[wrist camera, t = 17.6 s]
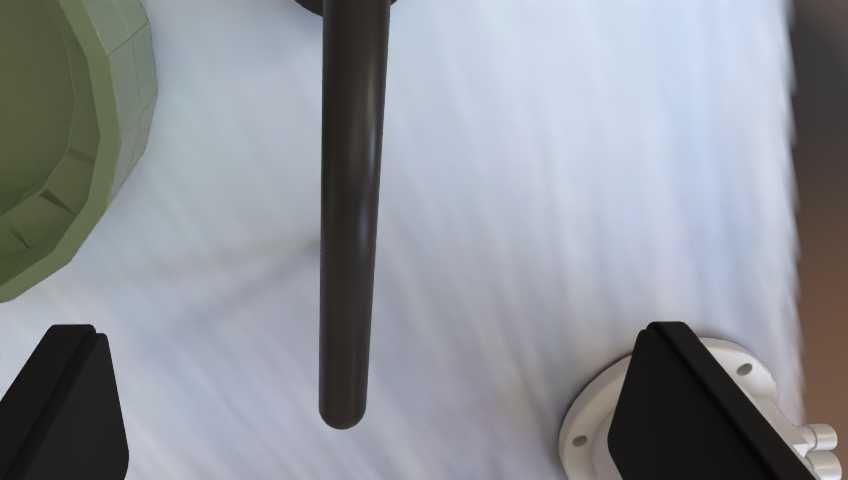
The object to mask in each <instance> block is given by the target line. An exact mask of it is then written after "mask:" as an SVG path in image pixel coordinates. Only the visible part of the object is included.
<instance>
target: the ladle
mask: <svg viewBox="0 0 848 480" xmlns="http://www.w3.org/2000/svg"><path fill="white" fill-rule="evenodd" d="M295 1H296V2H297V3H299V4H300V5H301V6H303V7H304V8H306V9H307V10H309V11H311V12H312V13H315V14H317V15H319V16H322V17H323V65H322V153H321V241H320V329H319V413H320V415H321V417H322V419H323V420H324V422H325V423H326V424H327V425H329V426H330V427H332V428H335V429H340V430H343V429H348V428H351V427H353V426H355V425H356V424H357V423H358V422H359V421H360V420H361V419H362V417H363V415H364V413H365V410H366V400H367V383H368V367H369V351H370V334H371V318H372V301H373V285H374V269H375V252H376V236H377V219H378V203H379V187H380V170H381V154H382V137H383V121H384V104H385V88H386V72H387V55H388V39H389V22H390V6H391V5H392V4H393V3H395V2H396V1H397V0H295Z"/></svg>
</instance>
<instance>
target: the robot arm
mask: <svg viewBox="0 0 848 480" xmlns="http://www.w3.org/2000/svg"><path fill="white" fill-rule="evenodd" d="M777 407H778V392H777V387H776V383H775V381H774V379H773V377H772V375H771V374H770V372H769V370H768V369H767V368H766V367H765V366H764V365H763V364H762V363H761V362H760V360H759V359H758V358H757V357H756V356H755V355H754V354H752V353H751V352H749V351H748V350H747V349H745V348H744V347H742V346H740V345H737V344H735V343H732V342H729V341H727V340H721V339H715V338H708V337H704V338H698V337H697V336H696V335H695V334H694V332H693V331H692V330H691V329H690V328H689V326H688V325H686V324H685V323H684V322H680V321H674V322H651V323H650V324H649V325H648V326H647V328H646V329H644V330H641V331H640V332H639V334H638V336H637V340H636V343H635V346H634V349H633V353H632V355H630V356H627V357H625V358H623V359H622V360H620V361H619V362H617V363H615V364H614V365H612V366H611V367H609V368H608V369H606V370H605V371H603V372H602V373H601V374H600V375H599V376H598V377H597V378H596V379H594V380H593V381H592V382H591V383H590V384H589V385H588V386H587V387H586V388H585V389H584V390H583V392H582V393H581V394H580V395H579V396H578V398H577V399H576V400H575V401H574V403H573V404H572V406H571V408H570V410H569V411H568V413H567V415H566V417H565V419H564V422H563V425H562V428H561V431H560V435H559V448H558V449H559V454H560V459H561V463H562V465H563V467H564V469H565V472H566V474H567V477H568V479H569V480H840V479H841V474H842V470H841V467H840V463H839V461H838V459H837V458H836V456H835V455H834V454H833V453H831V452H830V451H829V449H833V448H834V447H836V445H837V435H836V433H835V431H834V429H833V428H832V427H831V426H829V425H828V424H812V425H802V426H795V425H794V424H792V423H791V422H790V421H789V420H788V419H787V418H786V417H785V416H784V414H783V413H782V412H781V411H780V410H779V409H778V408H777ZM827 449H828V450H827ZM128 462H129V450H128V444H127V439H126V434H125V428H124V423H123V418H122V412H121V407H120V401H119V396H118V391H117V385H116V380H115V375H114V369H113V364H112V359H111V353H110V348H109V342H108V338H107V336H106V334H104V333H96V330H95V328H94V326H93V325H90V324H72V325H52V326H51V327H50V328H49V329H48V330H47V332H46V333H45V335H44V336H43V338H42V339H41V341H40V342H39V344H38V345H37V347H36V348H35V350H34V351H33V353H32V354H31V356H30V357H29V359H28V360H27V362H26V363H25V365H24V366H23V368H22V369H21V371H20V373H19V374H18V376H17V377H16V379H15V380H14V382H13V383H12V385H11V386H10V388H9V389H8V391H7V392H6V394H5V395H4V397H3V398H2V400H1V401H0V480H124V479H125V476H126V473H127V469H128Z"/></svg>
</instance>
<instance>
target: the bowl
mask: <svg viewBox="0 0 848 480" xmlns="http://www.w3.org/2000/svg"><path fill="white" fill-rule="evenodd" d="M148 22H149V20H148V17H147V15H146V13H145V10H144V8H143V6H142V4H141V1H140V0H0V303H3V302H7V301H11V300H13V299H15V298H16V297H18V296H19V295H21V294H23V293H24V292H26V291H27V290H29V289H30V288H32V287H33V286H35V285H36V284H38V283H39V282H41V281H42V280H44V279H45V278H47V277H48V276H50V275H52V274H53V273H55V272H56V271H58V270H59V269H61V268H62V267H64V266H65V265H67V264H68V263H69V262H70V261H71V260H72V258H73V257H74V256H75V254H76V253H77V251H78V250H79V248H80V247H81V246H82V244H83V243H84V241H85V240H86V238H87V237H88V236H89V234H90V233H91V231H92V230H93V229H94V227H95V226H96V224H97V223H98V221H99V220H100V219H101V217H102V216H103V214H104V213H105V211H106V210H107V208H108V207H109V205H110V204H111V202H112V201H113V199H114V198H115V196H116V195H117V193H118V191H119V190H120V188H121V187H122V185H123V184H124V182H125V181H126V179H127V178H128V176H129V174H130V173H131V171H132V170H133V168H134V167H135V165H136V164H137V162H138V161H139V159H140V157H141V156H142V154H143V152H144V150H145V147H146V142H147V138H148V134H149V129H150V125H151V121H152V117H153V112H154V108H155V104H156V99H157V95H158V93H157V91H158V87H157V79H156V70H155V62H154V54H153V45H152V37H151V28H150V24H149V23H148Z"/></svg>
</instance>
